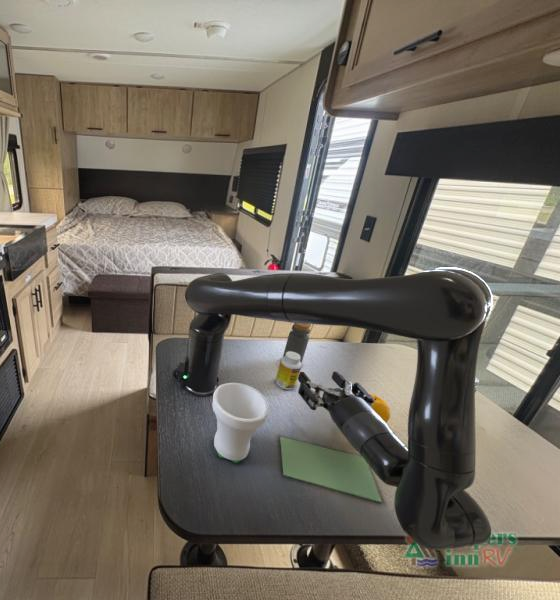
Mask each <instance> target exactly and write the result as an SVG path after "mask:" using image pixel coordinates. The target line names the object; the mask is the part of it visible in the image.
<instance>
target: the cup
mask: <svg viewBox="0 0 560 600" xmlns="http://www.w3.org/2000/svg"><path fill="white" fill-rule="evenodd" d="M212 411H213V413H214V414H215V417H216V422H217V423H216V425H217V426H216V432H215V434H214V438H213V446H214V449H215V450H216V451H215V452H216V453H217V455H218V457H219V458H220V459H226V460H229V461H231V462H232V463H234V464H238V463H239V462H241V461H242V460H244V459H246V458H247V456H248V455H249V453H250V448H251V440H252V437H253V435H254V434H255V432H256V431H257V430H258V429H259V428H262V426H264V424H265V423H266V421H267V418H268V414H269V411H270V405H269V402H268V399H267V398H266V397H265V396H264V395H263V393H261V392H260V391H259V390H258V389H256V388H254V387H252V386H251V385H248V384H245V383H242V382H226V383H222V384H220V385H218V386H217V387H216V390H215V391H214V393H213V396H212Z"/></svg>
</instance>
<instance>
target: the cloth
mask: <svg viewBox="0 0 560 600" xmlns="http://www.w3.org/2000/svg"><path fill="white" fill-rule="evenodd" d="M279 445H280V455H281V465H282V474H283V476H284V477H288V478H290V479H295V480H297V481H298V480H299V481H301V482H305V483H309V484H312V485H316V486H319V487H323V488H326V489H330V490H334V491H338V492H341V493H345V494H348V495H351V496H356V497H359V498H363V499H366V500H370V501H374V502H376V503H380V504H382V503H383V500H382V498H381V495H380V492H379V490H378V487H377V484H376V483H375V480H374V477H373V473H372V472H371V468H370V466H369V465H368V463H367V462H366V461H365V460H364V458H363V457H362V456H359V455H355V454H351V453H348V452H343V451H339V450H335V449H330V448H328V447H324V446H320V445H315V444H311V443H307V442H303V441H300V440H295V439H291V438H287V437H283V436H279Z"/></svg>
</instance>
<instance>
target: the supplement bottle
mask: <svg viewBox="0 0 560 600" xmlns="http://www.w3.org/2000/svg"><path fill="white" fill-rule="evenodd" d="M300 358H301V357H300V355H299V354H297V353H295V352H291V351H289V352H286V354H285V356H284V357H283V356H282V357H281V359H280V361H279V364H278V365H279V366H278V368H277V373H276V376H275V383H276V385H277V386H278V387H280V388H281V389H284V390H293V389H295V387H296V385H297V382H298V376H299V374H300V372H301V369H302V364H301V362H300Z"/></svg>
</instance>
